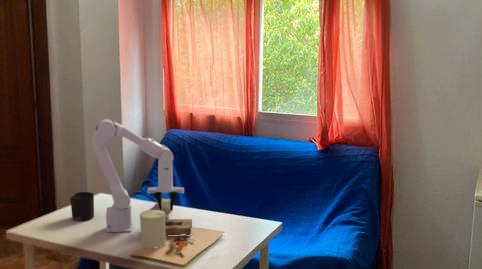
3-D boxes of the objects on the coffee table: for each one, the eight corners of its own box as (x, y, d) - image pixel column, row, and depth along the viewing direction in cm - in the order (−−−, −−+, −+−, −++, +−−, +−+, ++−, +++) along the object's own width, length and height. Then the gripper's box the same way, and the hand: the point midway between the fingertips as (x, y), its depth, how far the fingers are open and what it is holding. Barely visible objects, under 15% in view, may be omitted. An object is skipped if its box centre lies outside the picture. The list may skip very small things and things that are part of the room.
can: (162, 249, 181) (161, 217, 178) (137, 248, 182) (136, 216, 180) (169, 239, 190) (168, 208, 187) (145, 238, 191) (144, 207, 189)
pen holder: (68, 217, 213) (66, 194, 212) (89, 212, 219) (87, 190, 218) (77, 223, 206) (75, 200, 204) (98, 218, 212) (97, 195, 210)
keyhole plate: (153, 236, 192) (153, 228, 192) (156, 227, 202) (156, 219, 201) (190, 236, 193) (190, 228, 192) (192, 226, 202) (191, 219, 202)
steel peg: (161, 224, 204) (160, 202, 202) (162, 221, 208) (161, 199, 206) (171, 224, 204) (170, 201, 202) (172, 221, 208) (171, 198, 206)
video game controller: (156, 219, 216) (162, 205, 214) (146, 213, 216) (153, 200, 215) (163, 211, 226) (170, 198, 224) (155, 206, 226) (161, 193, 224)
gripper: (145, 180, 198) (146, 213, 201) (182, 180, 199) (183, 213, 201) (148, 175, 205) (149, 207, 208) (184, 175, 206) (184, 207, 208)
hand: (166, 210), depth 205 cm, fingers closed on steel peg, 4 cm apart
